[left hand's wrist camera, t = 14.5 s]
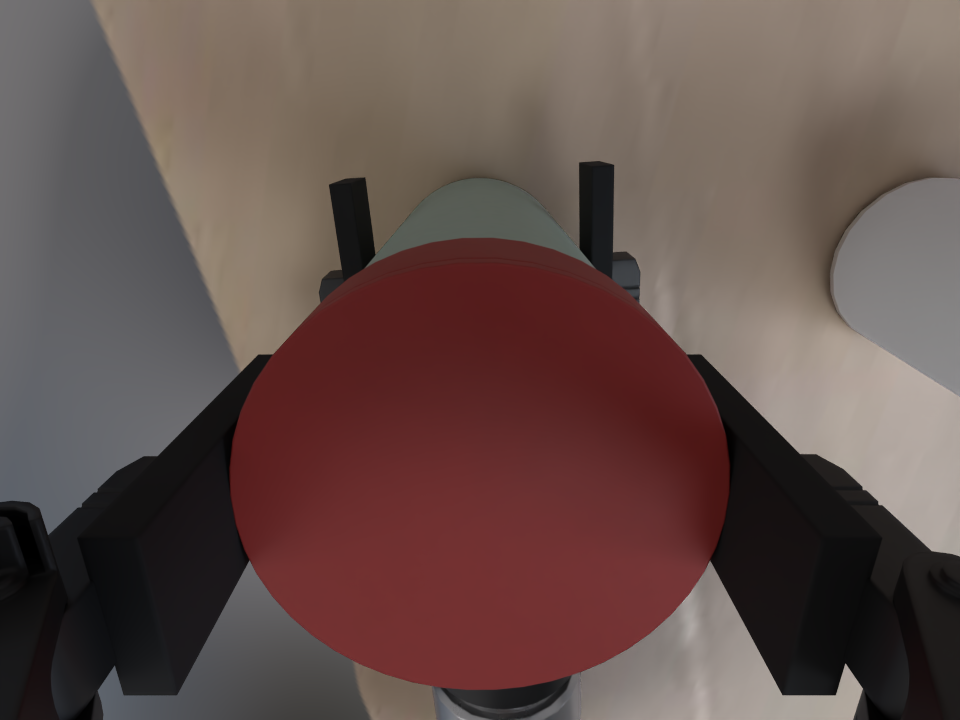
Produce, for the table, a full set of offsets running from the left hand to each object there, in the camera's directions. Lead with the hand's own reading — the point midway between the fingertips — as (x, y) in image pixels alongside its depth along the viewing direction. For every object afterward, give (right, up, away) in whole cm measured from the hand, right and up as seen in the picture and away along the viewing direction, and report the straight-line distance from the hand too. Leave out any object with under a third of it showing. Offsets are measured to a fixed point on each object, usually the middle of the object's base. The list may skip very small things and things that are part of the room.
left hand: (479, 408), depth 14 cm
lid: (0, -1, -3) cm, 4 cm away
